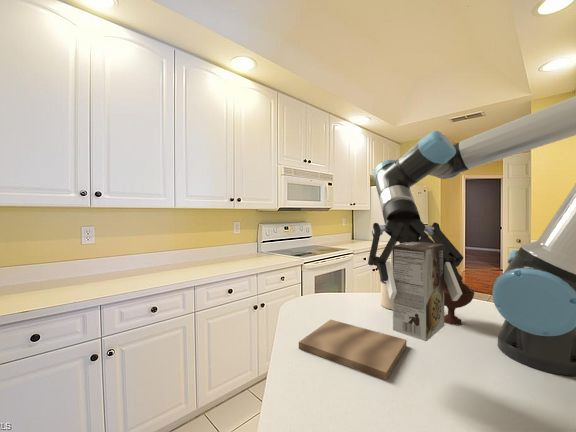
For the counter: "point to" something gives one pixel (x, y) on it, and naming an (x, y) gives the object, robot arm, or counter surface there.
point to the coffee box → (418, 289)
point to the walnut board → (355, 347)
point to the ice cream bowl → (456, 302)
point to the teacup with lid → (385, 296)
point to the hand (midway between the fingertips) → (424, 296)
